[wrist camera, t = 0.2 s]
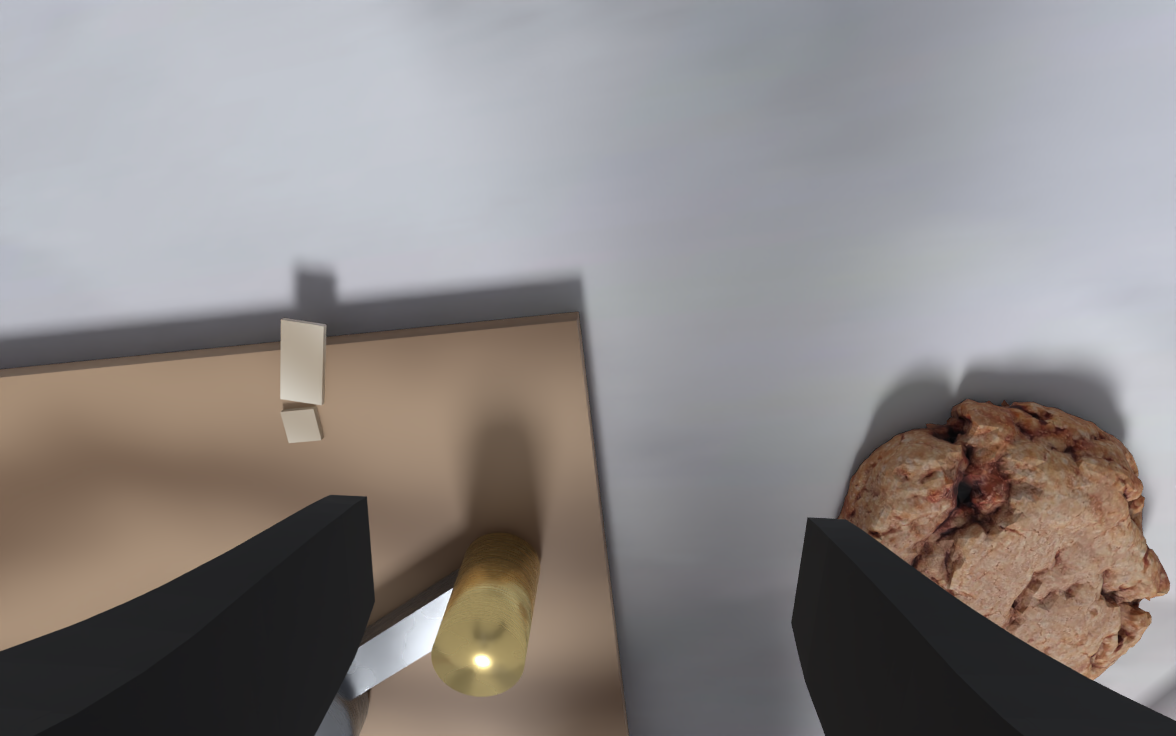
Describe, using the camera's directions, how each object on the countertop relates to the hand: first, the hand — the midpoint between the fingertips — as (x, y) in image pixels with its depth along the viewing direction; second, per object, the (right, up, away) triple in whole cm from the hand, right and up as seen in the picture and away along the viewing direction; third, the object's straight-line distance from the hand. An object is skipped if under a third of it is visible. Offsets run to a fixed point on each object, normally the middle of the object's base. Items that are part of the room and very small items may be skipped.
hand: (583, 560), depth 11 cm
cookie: (+13, -2, +11) cm, 17 cm away
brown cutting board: (-10, -8, +13) cm, 18 cm away
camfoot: (-7, -6, +11) cm, 14 cm away
